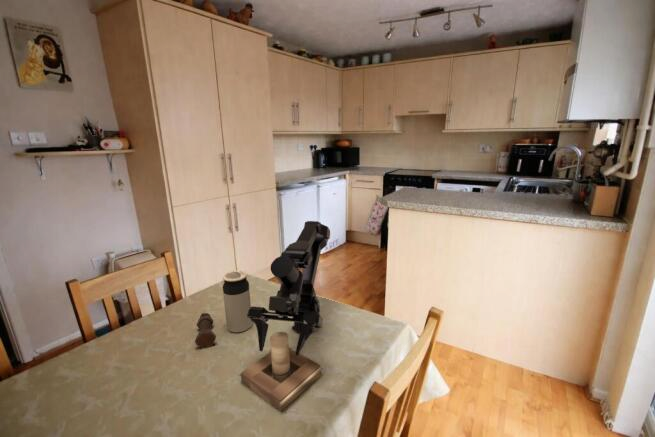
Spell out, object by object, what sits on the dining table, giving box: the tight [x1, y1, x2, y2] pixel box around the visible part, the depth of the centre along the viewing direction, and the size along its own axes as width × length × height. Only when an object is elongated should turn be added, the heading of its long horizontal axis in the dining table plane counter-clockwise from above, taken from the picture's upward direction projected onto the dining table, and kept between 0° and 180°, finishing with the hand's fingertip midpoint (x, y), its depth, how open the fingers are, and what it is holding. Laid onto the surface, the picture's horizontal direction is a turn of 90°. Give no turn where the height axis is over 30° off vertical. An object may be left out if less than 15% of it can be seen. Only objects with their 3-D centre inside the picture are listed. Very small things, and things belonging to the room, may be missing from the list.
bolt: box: [194, 312, 217, 349], centre depth 97 cm, size 6×5×15 cm
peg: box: [269, 331, 291, 384], centre depth 77 cm, size 4×4×12 cm
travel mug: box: [222, 269, 253, 333], centre depth 99 cm, size 8×8×18 cm
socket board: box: [238, 347, 323, 412], centre depth 78 cm, size 14×15×3 cm
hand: (278, 353), depth 75 cm, fingers open, 9 cm apart
